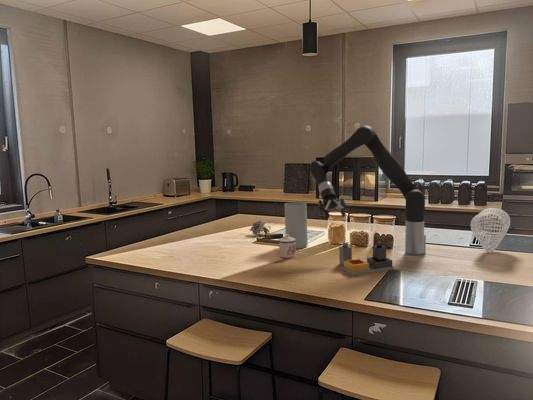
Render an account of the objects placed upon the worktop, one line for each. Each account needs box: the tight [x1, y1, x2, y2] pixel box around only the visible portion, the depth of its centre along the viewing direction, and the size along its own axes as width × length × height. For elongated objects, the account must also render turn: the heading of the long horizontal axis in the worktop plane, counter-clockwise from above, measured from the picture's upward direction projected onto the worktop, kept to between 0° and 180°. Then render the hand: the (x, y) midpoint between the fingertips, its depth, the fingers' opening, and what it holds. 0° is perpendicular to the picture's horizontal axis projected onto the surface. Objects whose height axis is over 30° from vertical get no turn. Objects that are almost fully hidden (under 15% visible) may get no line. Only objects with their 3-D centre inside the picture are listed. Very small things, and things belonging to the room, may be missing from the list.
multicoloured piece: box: [341, 241, 395, 276], centre depth 195 cm, size 22×9×12 cm, turn 105°
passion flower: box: [248, 219, 271, 237], centre depth 276 cm, size 11×11×12 cm
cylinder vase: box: [284, 201, 309, 250], centre depth 242 cm, size 12×12×25 cm
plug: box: [338, 241, 353, 267], centre depth 204 cm, size 4×4×11 cm
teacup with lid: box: [278, 233, 297, 259], centre depth 225 cm, size 12×9×12 cm
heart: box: [470, 207, 511, 254], centre depth 213 cm, size 28×16×22 cm, turn 142°
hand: (336, 216), depth 215 cm, fingers open, 8 cm apart
